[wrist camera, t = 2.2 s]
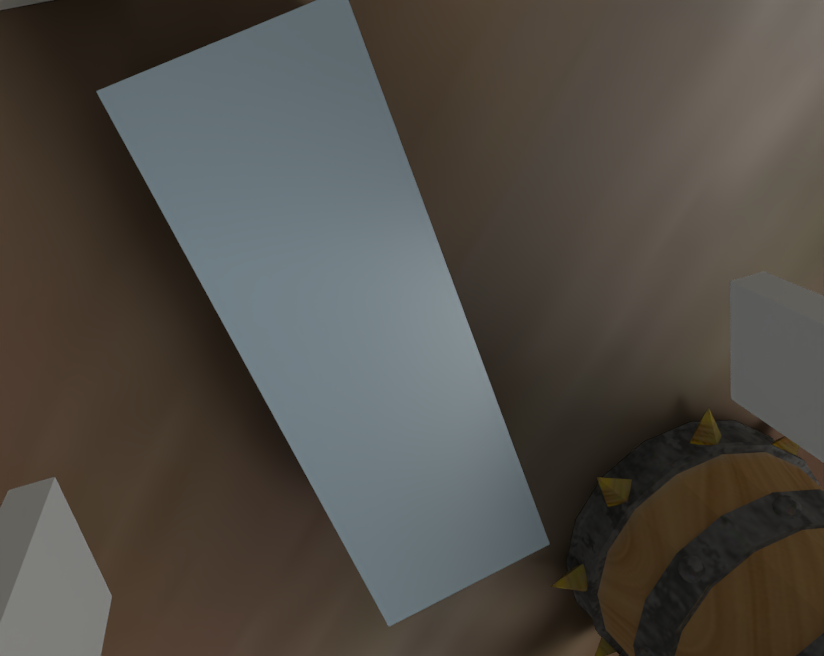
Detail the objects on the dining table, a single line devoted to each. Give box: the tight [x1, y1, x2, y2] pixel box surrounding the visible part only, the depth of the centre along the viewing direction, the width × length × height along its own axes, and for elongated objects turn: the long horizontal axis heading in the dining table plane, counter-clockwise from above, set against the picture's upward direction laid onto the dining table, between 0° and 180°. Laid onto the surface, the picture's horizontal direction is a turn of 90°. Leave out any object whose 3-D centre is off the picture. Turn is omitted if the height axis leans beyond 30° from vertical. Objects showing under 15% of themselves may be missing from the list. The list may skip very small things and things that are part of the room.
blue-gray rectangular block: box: [96, 0, 550, 627], centre depth 19 cm, size 5×15×6 cm, turn 21°
